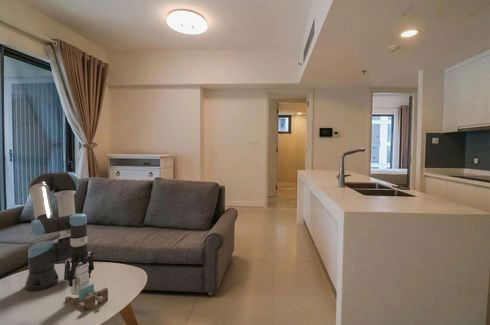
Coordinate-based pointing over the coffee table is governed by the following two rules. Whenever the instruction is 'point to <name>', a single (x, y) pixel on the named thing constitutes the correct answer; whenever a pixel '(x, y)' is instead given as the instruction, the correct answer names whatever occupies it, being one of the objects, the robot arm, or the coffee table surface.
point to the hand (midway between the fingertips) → (80, 288)
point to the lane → (89, 300)
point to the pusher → (88, 293)
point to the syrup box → (80, 277)
